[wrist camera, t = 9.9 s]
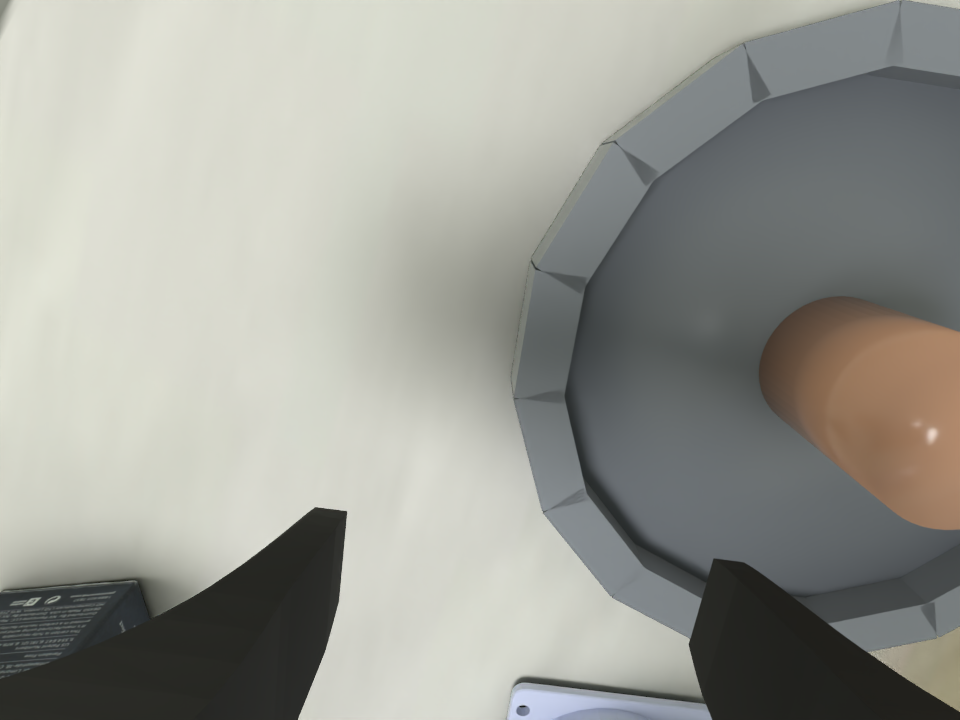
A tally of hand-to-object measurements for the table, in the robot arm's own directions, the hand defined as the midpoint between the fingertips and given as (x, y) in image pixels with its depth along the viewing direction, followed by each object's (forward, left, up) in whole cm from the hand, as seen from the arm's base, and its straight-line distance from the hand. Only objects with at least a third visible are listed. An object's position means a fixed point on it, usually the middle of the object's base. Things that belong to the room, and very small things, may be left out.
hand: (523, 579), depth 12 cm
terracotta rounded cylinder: (+3, -10, -9) cm, 14 cm away
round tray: (+3, -10, -9) cm, 14 cm away
